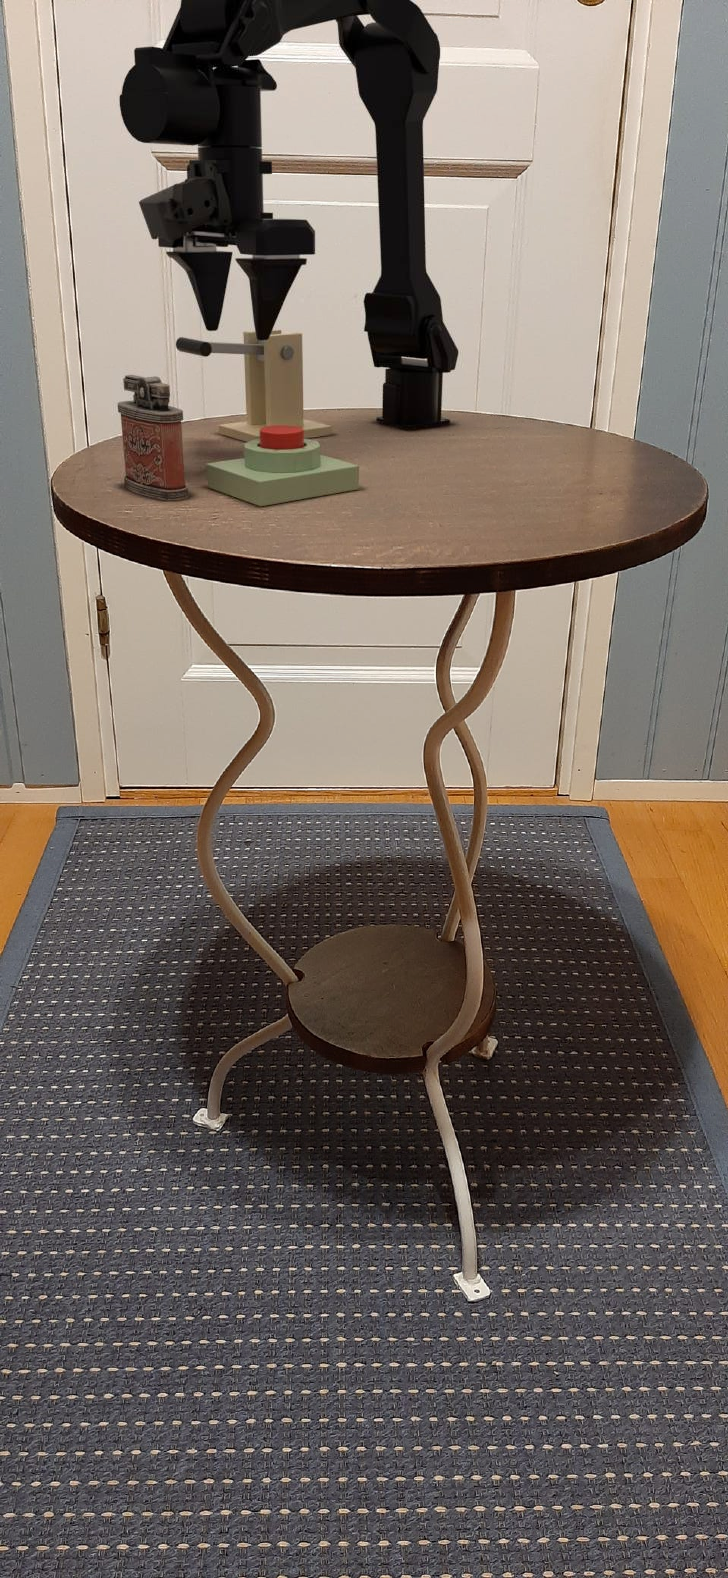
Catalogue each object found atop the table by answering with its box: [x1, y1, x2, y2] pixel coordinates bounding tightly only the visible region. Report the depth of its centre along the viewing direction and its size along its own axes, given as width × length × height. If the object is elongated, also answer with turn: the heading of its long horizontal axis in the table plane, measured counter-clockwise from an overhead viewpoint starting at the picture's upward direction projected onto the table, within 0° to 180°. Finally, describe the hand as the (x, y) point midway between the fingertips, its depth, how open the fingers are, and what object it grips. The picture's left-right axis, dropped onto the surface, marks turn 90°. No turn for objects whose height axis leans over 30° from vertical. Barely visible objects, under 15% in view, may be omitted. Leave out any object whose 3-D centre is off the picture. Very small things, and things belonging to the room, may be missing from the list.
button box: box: [205, 438, 360, 507], centre depth 106 cm, size 11×9×4 cm
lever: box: [175, 336, 264, 362], centre depth 123 cm, size 12×5×2 cm, turn 128°
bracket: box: [218, 328, 332, 443], centre depth 128 cm, size 10×8×11 cm
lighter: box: [117, 374, 189, 501], centre depth 103 cm, size 8×3×10 cm, turn 43°
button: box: [260, 425, 304, 450], centre depth 105 cm, size 4×4×2 cm
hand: (236, 335), depth 110 cm, fingers open, 9 cm apart
